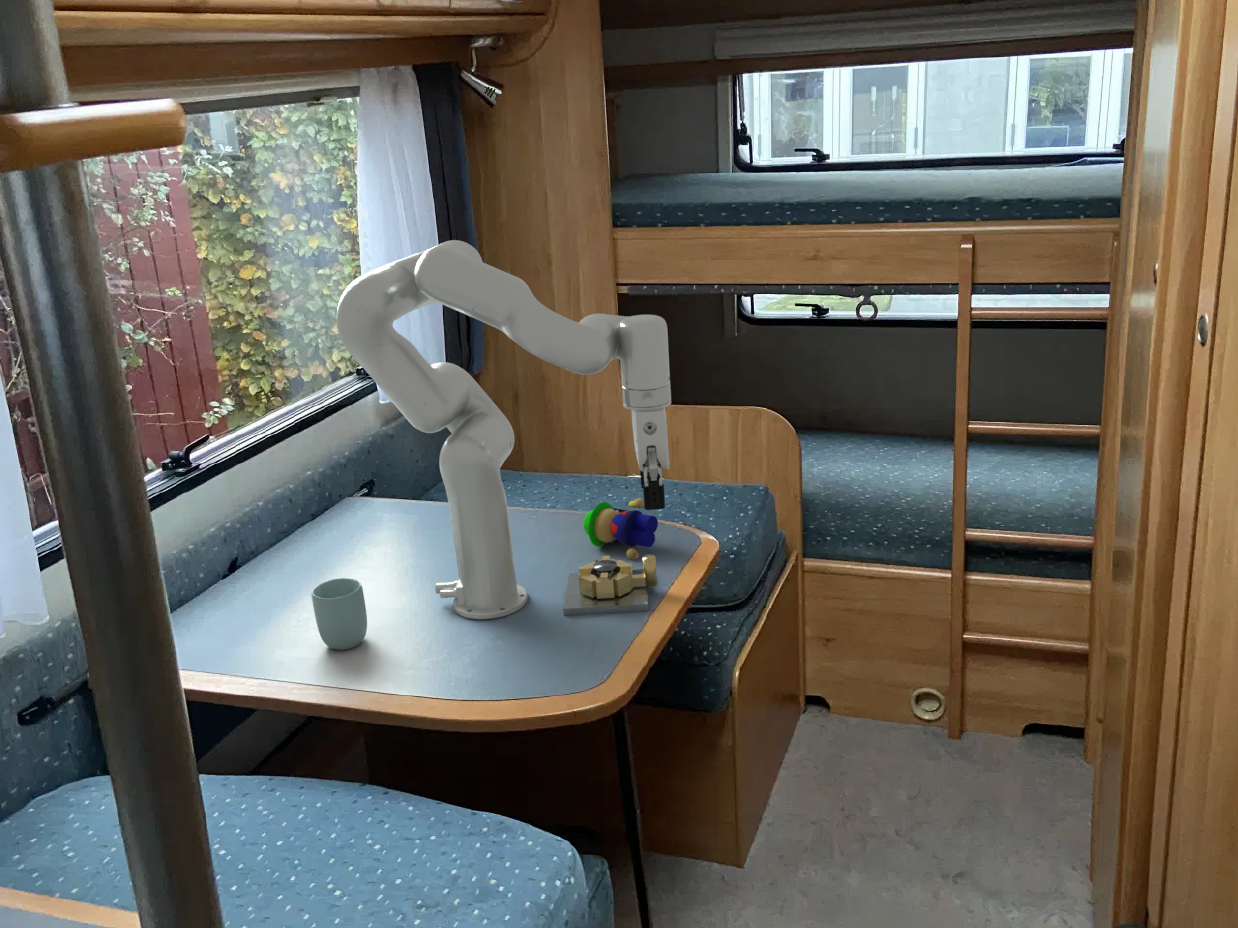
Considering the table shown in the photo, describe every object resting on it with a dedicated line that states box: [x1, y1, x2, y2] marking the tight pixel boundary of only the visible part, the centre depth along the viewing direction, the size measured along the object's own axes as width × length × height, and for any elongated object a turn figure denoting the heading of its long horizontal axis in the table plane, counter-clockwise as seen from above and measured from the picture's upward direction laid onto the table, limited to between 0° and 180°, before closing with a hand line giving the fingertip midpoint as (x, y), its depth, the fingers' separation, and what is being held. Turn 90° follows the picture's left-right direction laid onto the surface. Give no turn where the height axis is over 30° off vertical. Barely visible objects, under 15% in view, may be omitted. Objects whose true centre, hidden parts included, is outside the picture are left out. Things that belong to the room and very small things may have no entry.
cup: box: [310, 577, 368, 651], centre depth 180 cm, size 8×8×10 cm
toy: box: [582, 497, 659, 560], centre depth 209 cm, size 12×9×15 cm
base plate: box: [562, 559, 650, 616], centre depth 191 cm, size 14×15×6 cm
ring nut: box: [578, 554, 658, 599], centre depth 190 cm, size 13×9×5 cm
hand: (652, 497), depth 180 cm, fingers open, 9 cm apart
